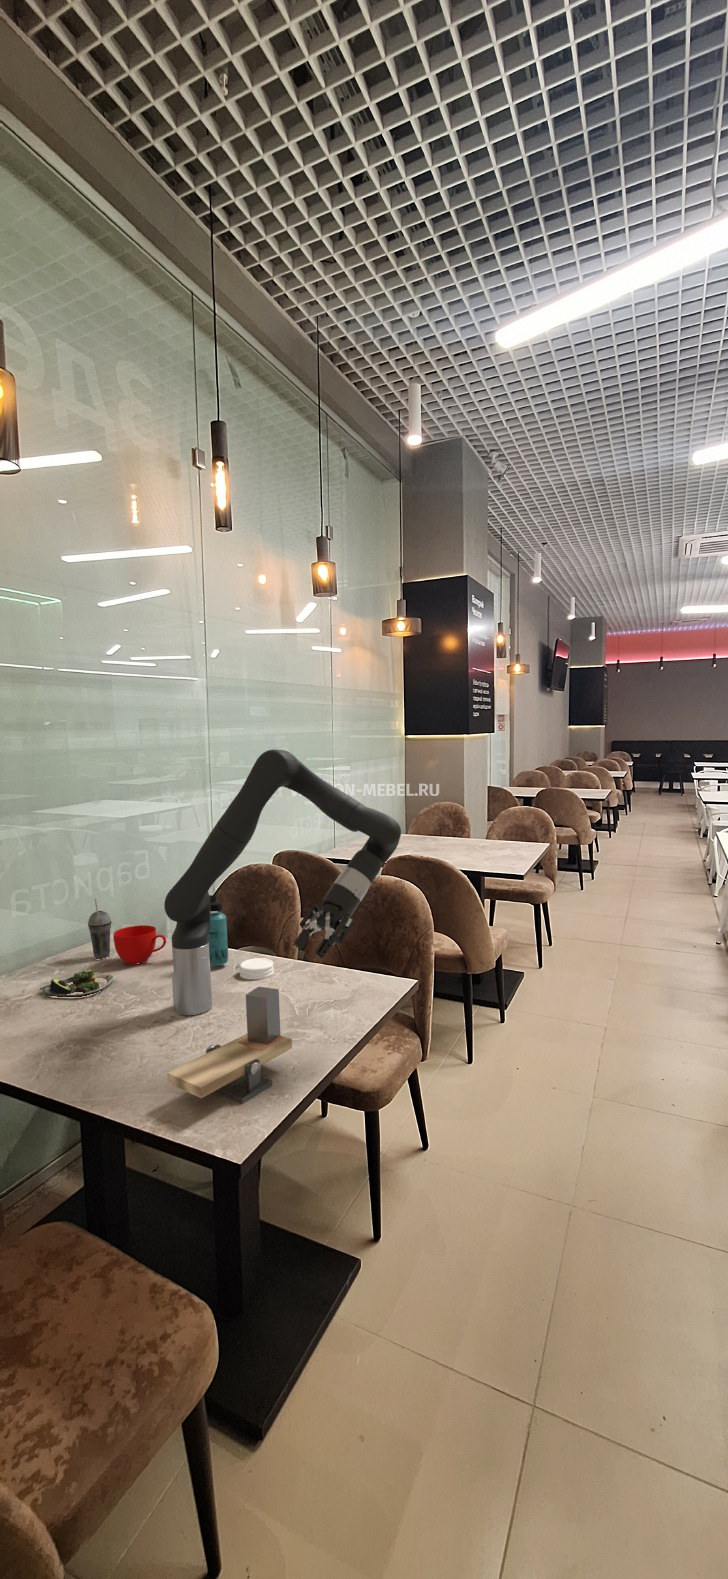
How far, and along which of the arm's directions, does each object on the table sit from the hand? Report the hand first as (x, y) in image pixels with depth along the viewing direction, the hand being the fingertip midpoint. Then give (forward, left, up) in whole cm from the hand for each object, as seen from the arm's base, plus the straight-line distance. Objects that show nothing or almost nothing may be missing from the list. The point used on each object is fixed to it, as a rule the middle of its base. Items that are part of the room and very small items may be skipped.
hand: (307, 951), depth 147 cm
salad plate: (-82, -9, -23) cm, 85 cm away
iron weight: (-3, -11, -16) cm, 20 cm away
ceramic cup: (-86, +15, -23) cm, 90 cm away
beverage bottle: (-61, +25, -23) cm, 70 cm away
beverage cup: (-101, +10, -22) cm, 104 cm away
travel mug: (-71, +30, -23) cm, 80 cm away
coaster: (-46, +27, -23) cm, 58 cm away
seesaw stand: (-3, -20, -22) cm, 30 cm away
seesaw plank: (-3, -20, -17) cm, 27 cm away
